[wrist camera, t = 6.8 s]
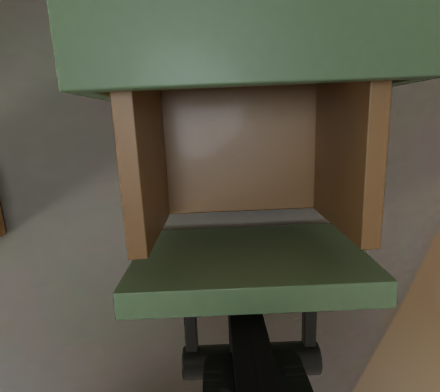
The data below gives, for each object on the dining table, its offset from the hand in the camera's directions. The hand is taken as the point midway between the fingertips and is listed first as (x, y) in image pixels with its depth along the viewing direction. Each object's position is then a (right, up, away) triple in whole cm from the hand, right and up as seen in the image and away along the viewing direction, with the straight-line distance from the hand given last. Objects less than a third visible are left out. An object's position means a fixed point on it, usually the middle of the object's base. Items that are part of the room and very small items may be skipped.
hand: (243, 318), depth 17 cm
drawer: (0, +7, +3) cm, 8 cm away
